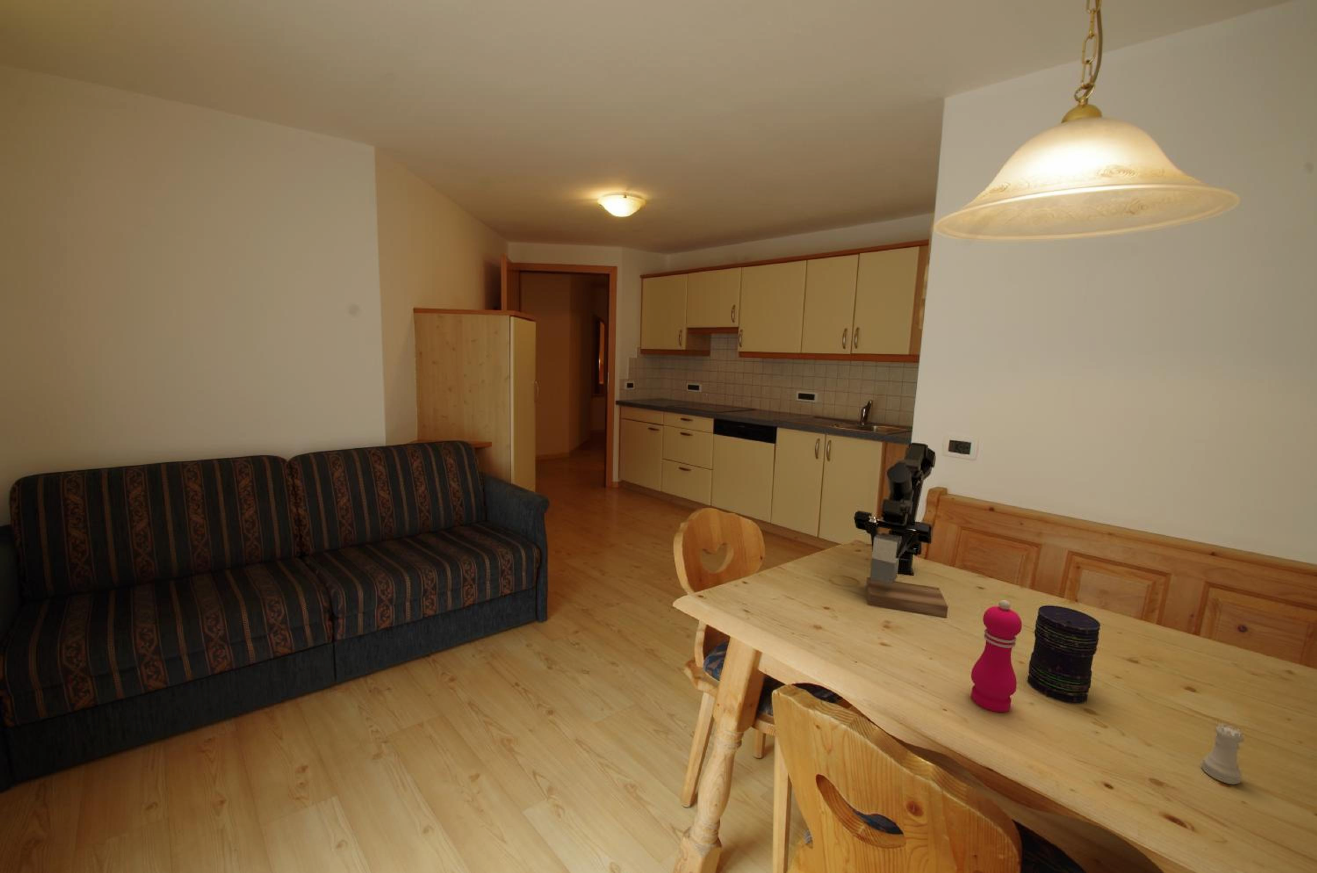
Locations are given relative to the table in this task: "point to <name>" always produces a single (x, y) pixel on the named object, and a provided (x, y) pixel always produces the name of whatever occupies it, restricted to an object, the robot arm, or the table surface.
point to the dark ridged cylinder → (1063, 653)
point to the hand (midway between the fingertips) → (885, 554)
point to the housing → (885, 557)
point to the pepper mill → (996, 659)
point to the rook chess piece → (1224, 755)
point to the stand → (906, 597)
